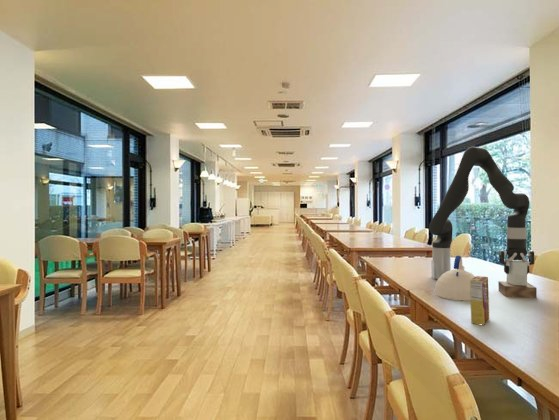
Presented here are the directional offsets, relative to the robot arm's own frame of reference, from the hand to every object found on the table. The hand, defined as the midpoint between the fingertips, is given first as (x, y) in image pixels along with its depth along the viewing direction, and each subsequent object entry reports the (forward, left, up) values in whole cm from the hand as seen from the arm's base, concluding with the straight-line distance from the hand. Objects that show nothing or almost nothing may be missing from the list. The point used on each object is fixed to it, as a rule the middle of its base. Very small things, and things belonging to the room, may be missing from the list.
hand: (516, 273), depth 173 cm
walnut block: (0, 0, -10) cm, 10 cm away
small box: (0, 0, -5) cm, 5 cm away
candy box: (-31, -44, -10) cm, 55 cm away
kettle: (-26, -4, -10) cm, 28 cm away
